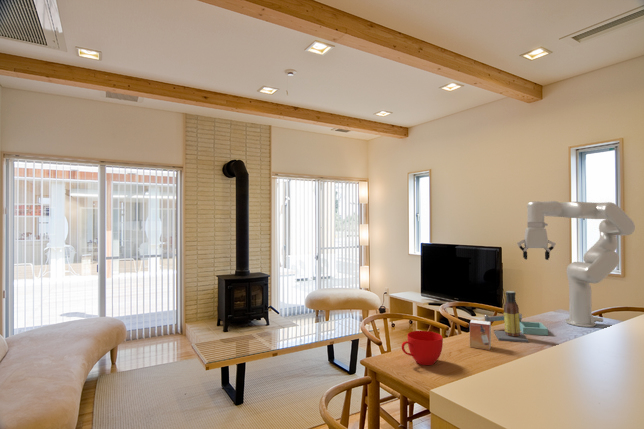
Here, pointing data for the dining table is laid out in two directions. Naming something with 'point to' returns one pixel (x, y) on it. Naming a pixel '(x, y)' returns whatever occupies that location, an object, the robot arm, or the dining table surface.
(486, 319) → the bar
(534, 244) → the robot arm
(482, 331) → the small box
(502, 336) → the pad
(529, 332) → the teal square frame
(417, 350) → the ceramic cup
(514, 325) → the sauce bottle
